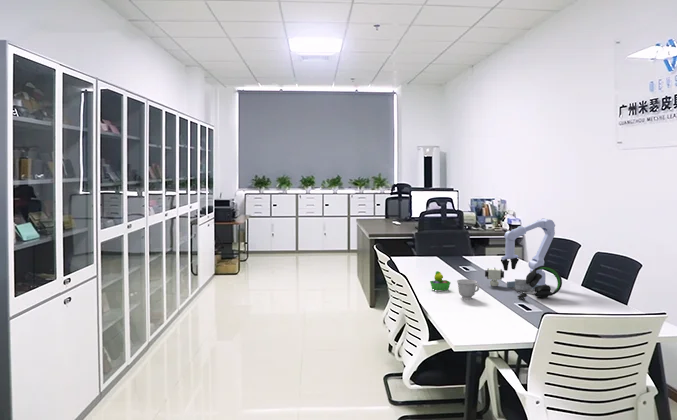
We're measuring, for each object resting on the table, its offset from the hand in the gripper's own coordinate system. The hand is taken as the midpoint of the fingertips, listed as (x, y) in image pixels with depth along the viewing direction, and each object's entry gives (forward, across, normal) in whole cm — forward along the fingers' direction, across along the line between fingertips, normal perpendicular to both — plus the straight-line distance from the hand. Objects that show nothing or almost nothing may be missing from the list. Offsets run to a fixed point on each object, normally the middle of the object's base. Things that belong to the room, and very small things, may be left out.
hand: (509, 269), depth 320 cm
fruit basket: (+10, -48, +16) cm, 51 cm away
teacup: (+10, -50, -11) cm, 52 cm away
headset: (+10, -14, -33) cm, 37 cm away
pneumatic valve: (+10, -10, +4) cm, 15 cm away
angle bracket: (+10, -5, -15) cm, 19 cm away
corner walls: (+10, -2, -13) cm, 16 cm away
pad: (+10, -4, -14) cm, 17 cm away
